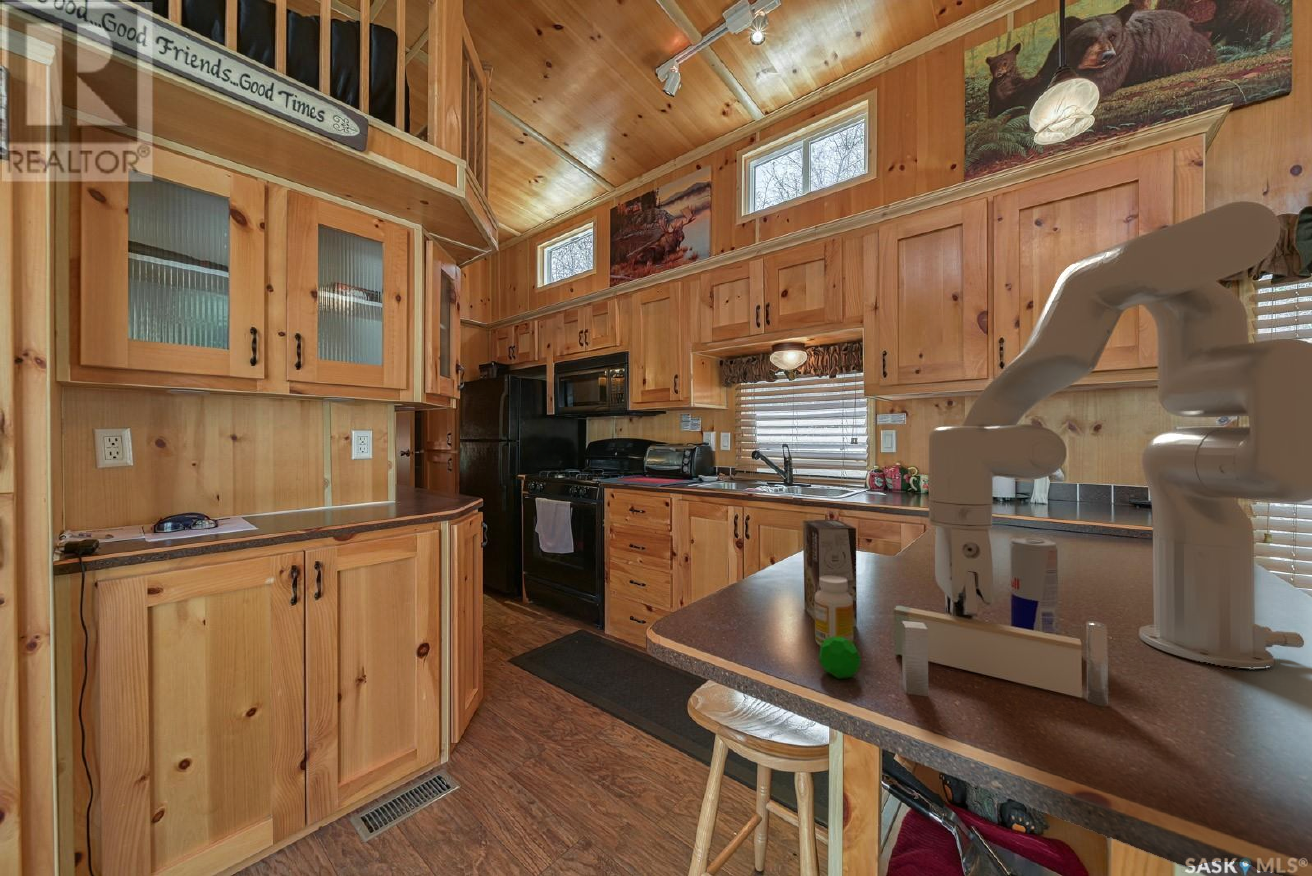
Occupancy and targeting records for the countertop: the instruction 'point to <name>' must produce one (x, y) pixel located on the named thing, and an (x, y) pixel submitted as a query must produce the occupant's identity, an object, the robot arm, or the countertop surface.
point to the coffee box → (828, 558)
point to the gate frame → (918, 660)
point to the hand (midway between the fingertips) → (959, 645)
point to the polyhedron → (839, 657)
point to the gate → (998, 650)
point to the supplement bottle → (833, 609)
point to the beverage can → (1034, 585)
